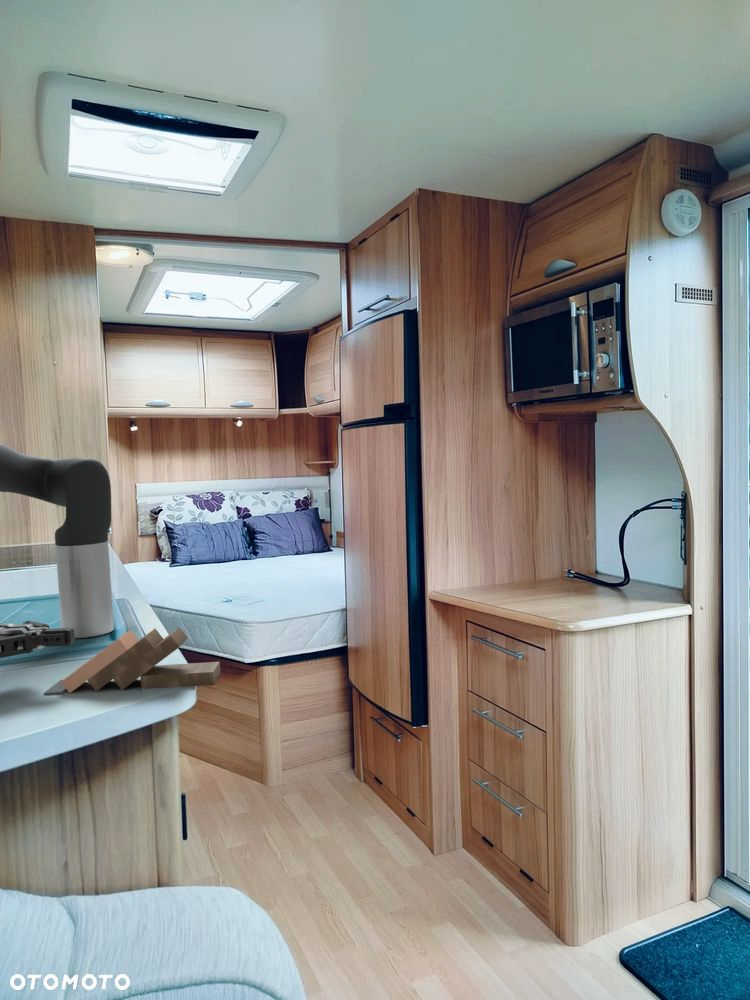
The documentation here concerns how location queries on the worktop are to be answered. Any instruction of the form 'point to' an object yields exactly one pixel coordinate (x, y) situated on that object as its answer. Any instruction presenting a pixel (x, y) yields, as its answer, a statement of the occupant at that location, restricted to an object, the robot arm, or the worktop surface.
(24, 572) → the worktop surface
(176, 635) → the walnut domino
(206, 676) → the walnut domino
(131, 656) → the walnut domino
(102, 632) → the robot arm
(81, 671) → the salmon pink domino
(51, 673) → the worktop surface
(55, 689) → the pad
